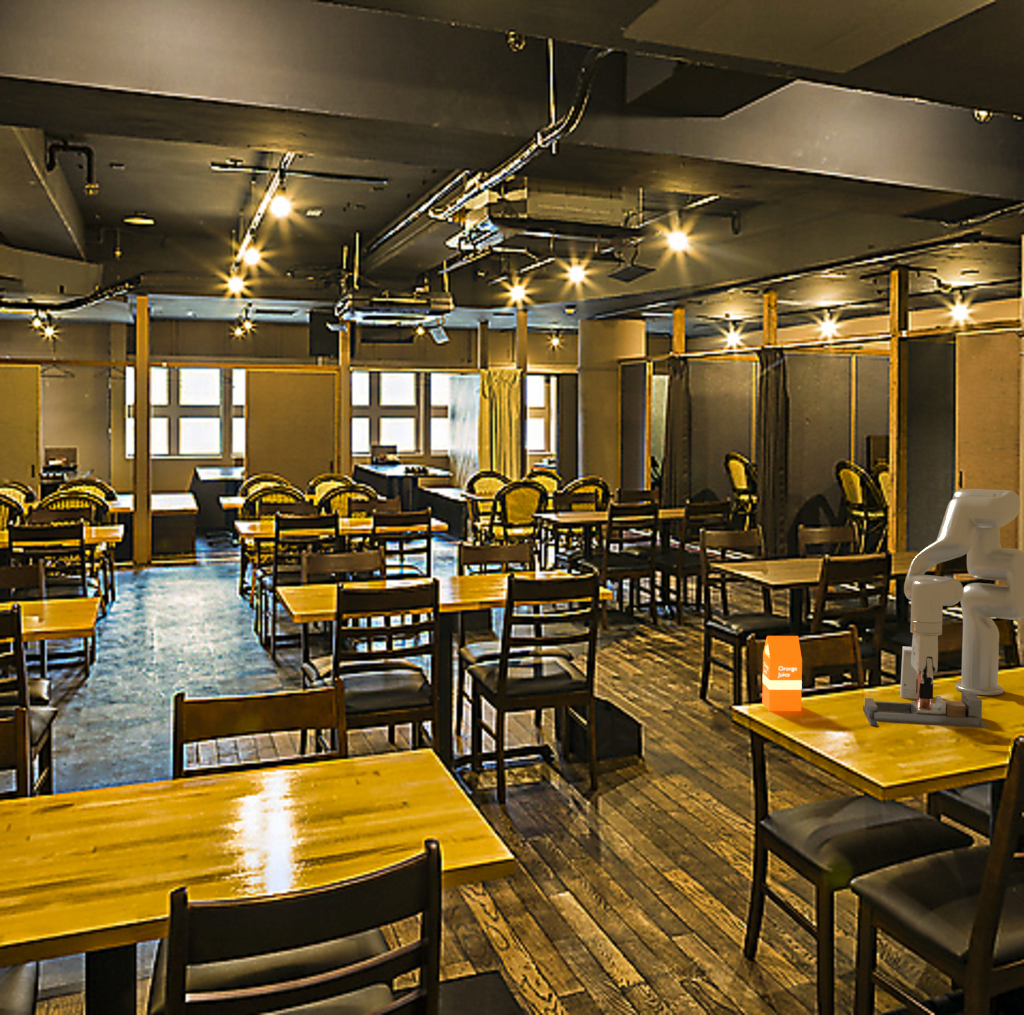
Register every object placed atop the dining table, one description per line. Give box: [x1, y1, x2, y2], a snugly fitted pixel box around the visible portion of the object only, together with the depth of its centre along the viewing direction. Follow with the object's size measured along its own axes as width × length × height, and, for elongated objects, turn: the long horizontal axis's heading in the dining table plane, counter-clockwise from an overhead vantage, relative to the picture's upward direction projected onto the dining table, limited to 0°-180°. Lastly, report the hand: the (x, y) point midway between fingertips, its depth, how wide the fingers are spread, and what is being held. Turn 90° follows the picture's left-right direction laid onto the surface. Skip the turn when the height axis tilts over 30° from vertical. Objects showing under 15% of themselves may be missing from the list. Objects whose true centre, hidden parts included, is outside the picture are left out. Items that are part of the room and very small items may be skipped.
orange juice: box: [761, 635, 803, 712], centre depth 255 cm, size 8×9×20 cm
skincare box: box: [899, 646, 933, 701], centre depth 261 cm, size 8×6×15 cm
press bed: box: [862, 691, 989, 729], centre depth 242 cm, size 14×28×7 cm, turn 77°
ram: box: [910, 669, 946, 716], centre depth 241 cm, size 8×7×12 cm
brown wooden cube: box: [943, 699, 966, 717], centre depth 240 cm, size 4×4×4 cm
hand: (924, 695), depth 242 cm, fingers closed on ram, 3 cm apart
